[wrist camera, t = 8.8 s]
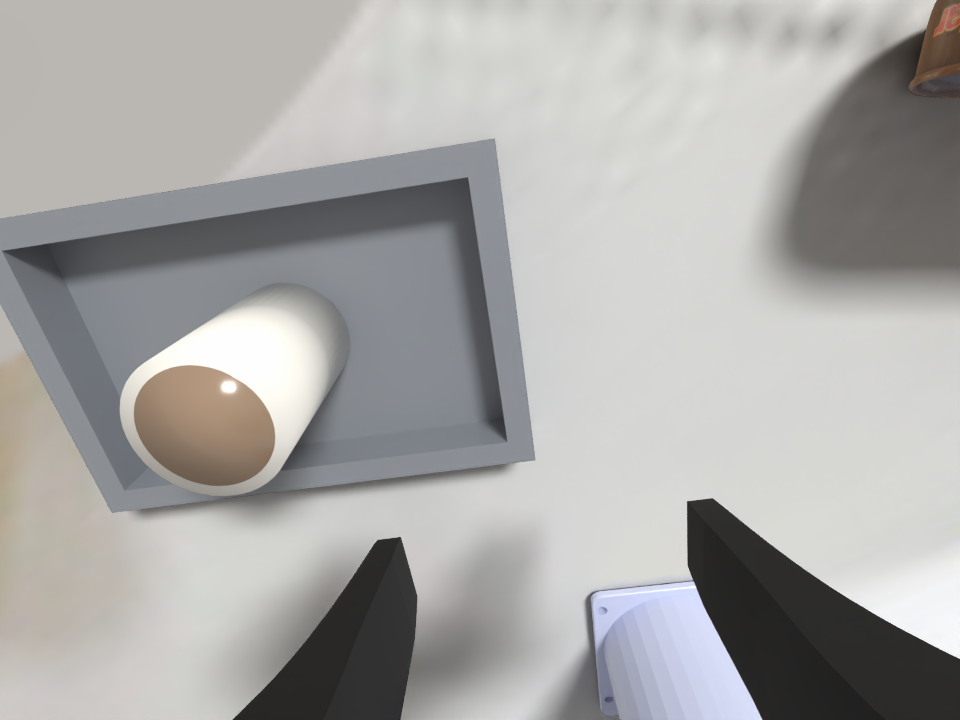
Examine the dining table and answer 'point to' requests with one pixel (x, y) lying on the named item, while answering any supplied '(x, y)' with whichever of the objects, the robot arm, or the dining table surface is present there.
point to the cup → (236, 391)
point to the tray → (300, 260)
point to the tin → (940, 53)
